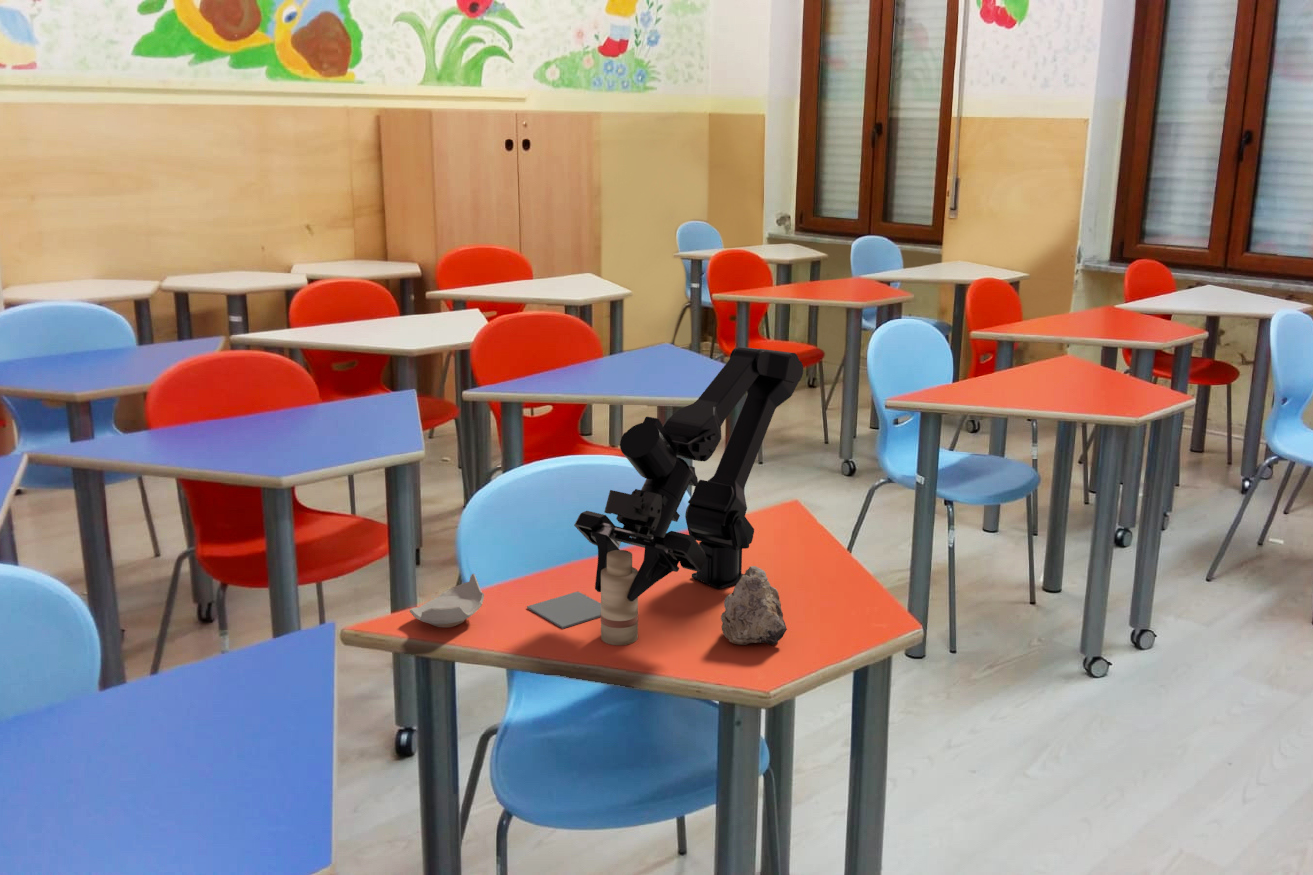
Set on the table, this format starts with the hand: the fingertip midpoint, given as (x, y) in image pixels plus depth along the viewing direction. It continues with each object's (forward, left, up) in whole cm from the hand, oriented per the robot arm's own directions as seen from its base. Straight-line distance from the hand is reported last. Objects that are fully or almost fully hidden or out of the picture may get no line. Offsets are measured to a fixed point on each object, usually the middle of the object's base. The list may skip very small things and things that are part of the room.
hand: (613, 595), depth 149 cm
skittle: (-1, 0, -7) cm, 7 cm away
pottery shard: (+15, -19, -7) cm, 25 cm away
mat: (-1, -12, -7) cm, 14 cm away
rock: (-15, +11, -7) cm, 20 cm away
